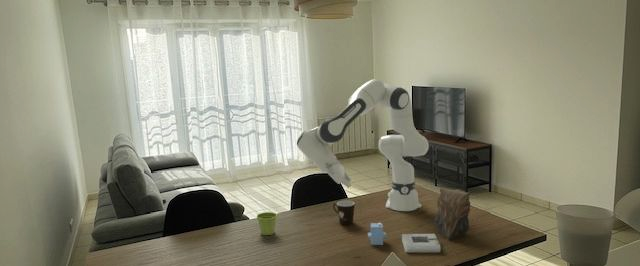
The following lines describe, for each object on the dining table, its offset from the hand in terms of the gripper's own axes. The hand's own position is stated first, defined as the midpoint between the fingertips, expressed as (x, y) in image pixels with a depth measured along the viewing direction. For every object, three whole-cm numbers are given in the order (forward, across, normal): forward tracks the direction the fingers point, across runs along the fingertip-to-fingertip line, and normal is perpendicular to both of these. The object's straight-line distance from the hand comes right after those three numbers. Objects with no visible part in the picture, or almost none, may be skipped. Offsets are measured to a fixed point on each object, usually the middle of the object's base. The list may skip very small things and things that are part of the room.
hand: (349, 183), depth 192 cm
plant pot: (-9, +9, +46) cm, 47 cm away
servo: (+26, -3, +10) cm, 28 cm away
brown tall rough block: (+49, +5, -13) cm, 51 cm away
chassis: (+39, -7, -3) cm, 39 cm away
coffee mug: (+16, +22, +20) cm, 34 cm away
